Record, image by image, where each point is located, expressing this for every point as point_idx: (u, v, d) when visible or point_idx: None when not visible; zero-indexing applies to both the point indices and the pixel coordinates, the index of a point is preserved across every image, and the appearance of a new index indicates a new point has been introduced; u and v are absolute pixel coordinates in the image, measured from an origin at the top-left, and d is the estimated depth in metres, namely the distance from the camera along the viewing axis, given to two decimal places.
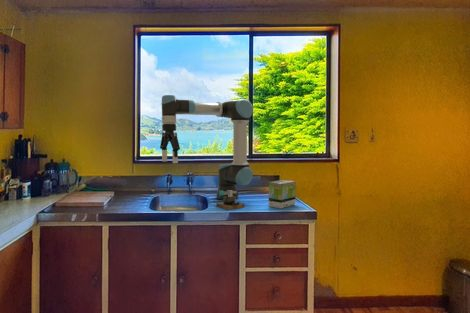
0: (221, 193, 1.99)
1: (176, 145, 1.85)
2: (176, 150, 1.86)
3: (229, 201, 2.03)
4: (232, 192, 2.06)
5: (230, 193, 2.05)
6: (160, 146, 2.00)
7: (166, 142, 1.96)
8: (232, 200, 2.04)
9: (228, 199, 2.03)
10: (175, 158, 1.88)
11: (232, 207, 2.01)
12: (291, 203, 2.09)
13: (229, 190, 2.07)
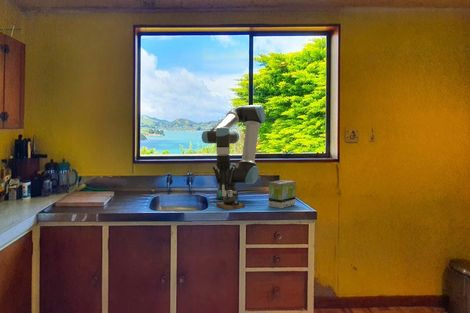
0: (220, 193, 1.99)
1: None
2: None
3: (229, 201, 2.03)
4: (232, 192, 2.06)
5: (230, 193, 2.05)
6: None
7: None
8: (232, 200, 2.03)
9: (228, 199, 2.03)
10: None
11: (232, 207, 2.01)
12: (291, 203, 2.09)
13: (229, 190, 2.07)
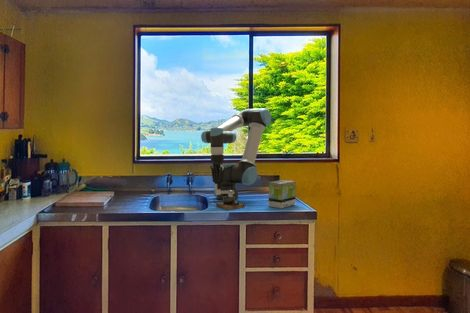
0: None
1: None
2: (216, 182, 2.06)
3: (224, 200, 2.05)
4: (230, 192, 2.05)
5: (228, 193, 2.06)
6: (222, 180, 2.02)
7: None
8: (227, 200, 2.04)
9: (223, 198, 2.05)
10: None
11: (232, 207, 2.01)
12: (291, 203, 2.09)
13: (229, 190, 2.07)
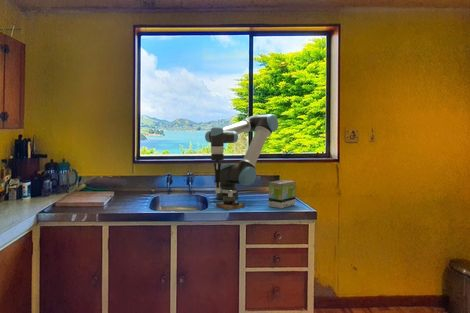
0: None
1: None
2: None
3: (223, 200, 2.07)
4: None
5: None
6: (219, 179, 2.05)
7: None
8: (224, 199, 2.05)
9: (223, 198, 2.08)
10: None
11: (232, 207, 2.01)
12: (291, 203, 2.09)
13: (230, 190, 2.07)
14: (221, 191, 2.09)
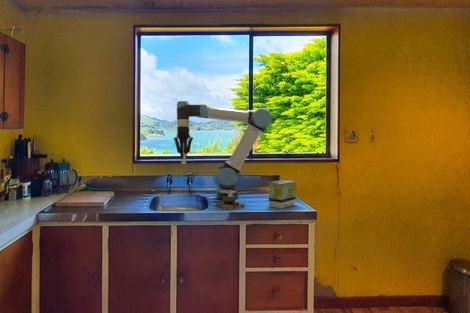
0: (217, 190, 2.11)
1: (177, 149, 2.17)
2: (180, 153, 2.18)
3: (223, 200, 2.07)
4: None
5: None
6: None
7: (184, 143, 2.20)
8: (224, 199, 2.05)
9: (223, 198, 2.08)
10: (182, 160, 2.19)
11: (232, 207, 2.01)
12: (291, 203, 2.09)
13: (230, 190, 2.07)
14: (221, 191, 2.09)
